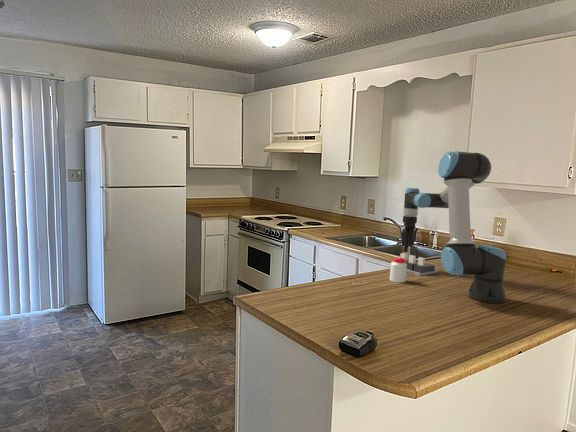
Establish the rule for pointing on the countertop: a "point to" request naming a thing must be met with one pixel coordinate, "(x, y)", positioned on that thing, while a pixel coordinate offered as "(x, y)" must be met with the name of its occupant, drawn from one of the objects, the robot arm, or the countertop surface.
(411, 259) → the handle mid
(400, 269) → the pill bottle
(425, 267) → the panel
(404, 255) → the handle
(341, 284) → the countertop surface
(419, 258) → the handle far
